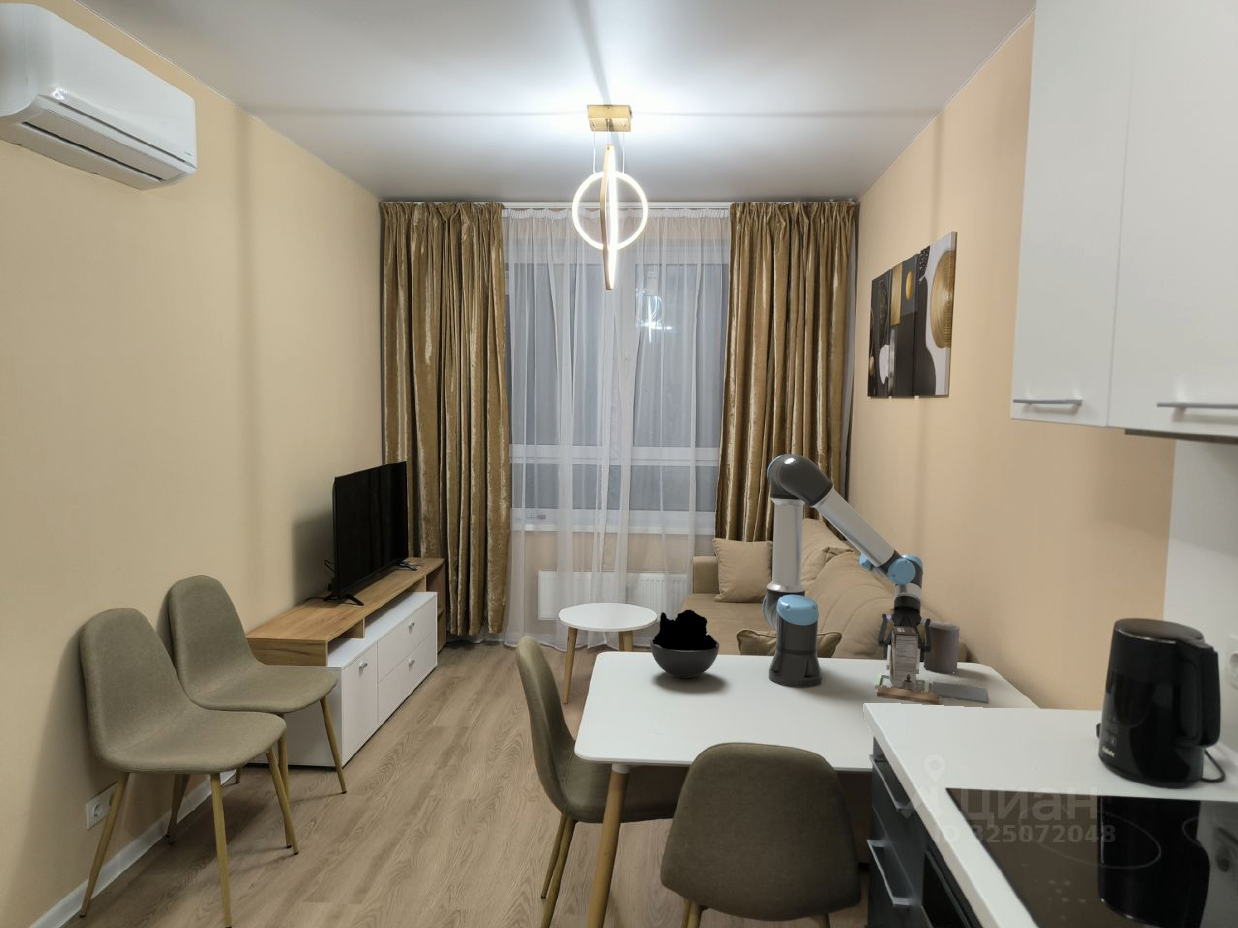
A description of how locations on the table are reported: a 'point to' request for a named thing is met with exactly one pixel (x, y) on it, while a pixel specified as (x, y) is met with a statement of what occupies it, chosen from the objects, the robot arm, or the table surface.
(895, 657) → the coffee box
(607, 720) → the table surface
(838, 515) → the robot arm
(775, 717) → the table surface
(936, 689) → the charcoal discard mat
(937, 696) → the walnut ticket board
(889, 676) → the sage stub frame
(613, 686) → the table surface
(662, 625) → the coal bowl
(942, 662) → the pillar candle
